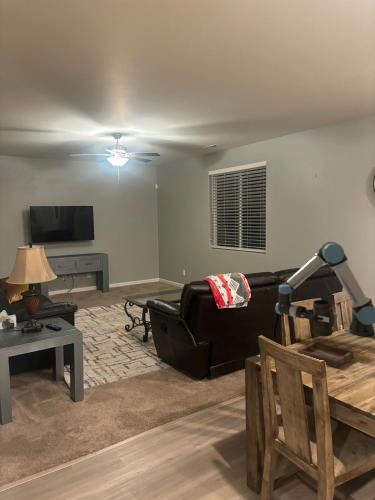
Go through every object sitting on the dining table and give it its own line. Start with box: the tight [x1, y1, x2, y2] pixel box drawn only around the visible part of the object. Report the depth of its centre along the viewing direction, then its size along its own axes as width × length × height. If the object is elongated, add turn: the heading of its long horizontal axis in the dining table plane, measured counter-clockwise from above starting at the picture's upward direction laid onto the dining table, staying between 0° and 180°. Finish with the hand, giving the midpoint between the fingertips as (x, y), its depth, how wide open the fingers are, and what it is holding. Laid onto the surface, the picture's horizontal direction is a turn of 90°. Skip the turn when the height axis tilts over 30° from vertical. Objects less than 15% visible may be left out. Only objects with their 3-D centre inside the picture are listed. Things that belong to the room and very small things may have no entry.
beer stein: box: [312, 299, 335, 338], centre depth 216 cm, size 15×11×20 cm
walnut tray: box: [297, 341, 354, 369], centre depth 201 cm, size 18×22×4 cm
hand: (333, 317), depth 213 cm, fingers closed on beer stein, 9 cm apart
